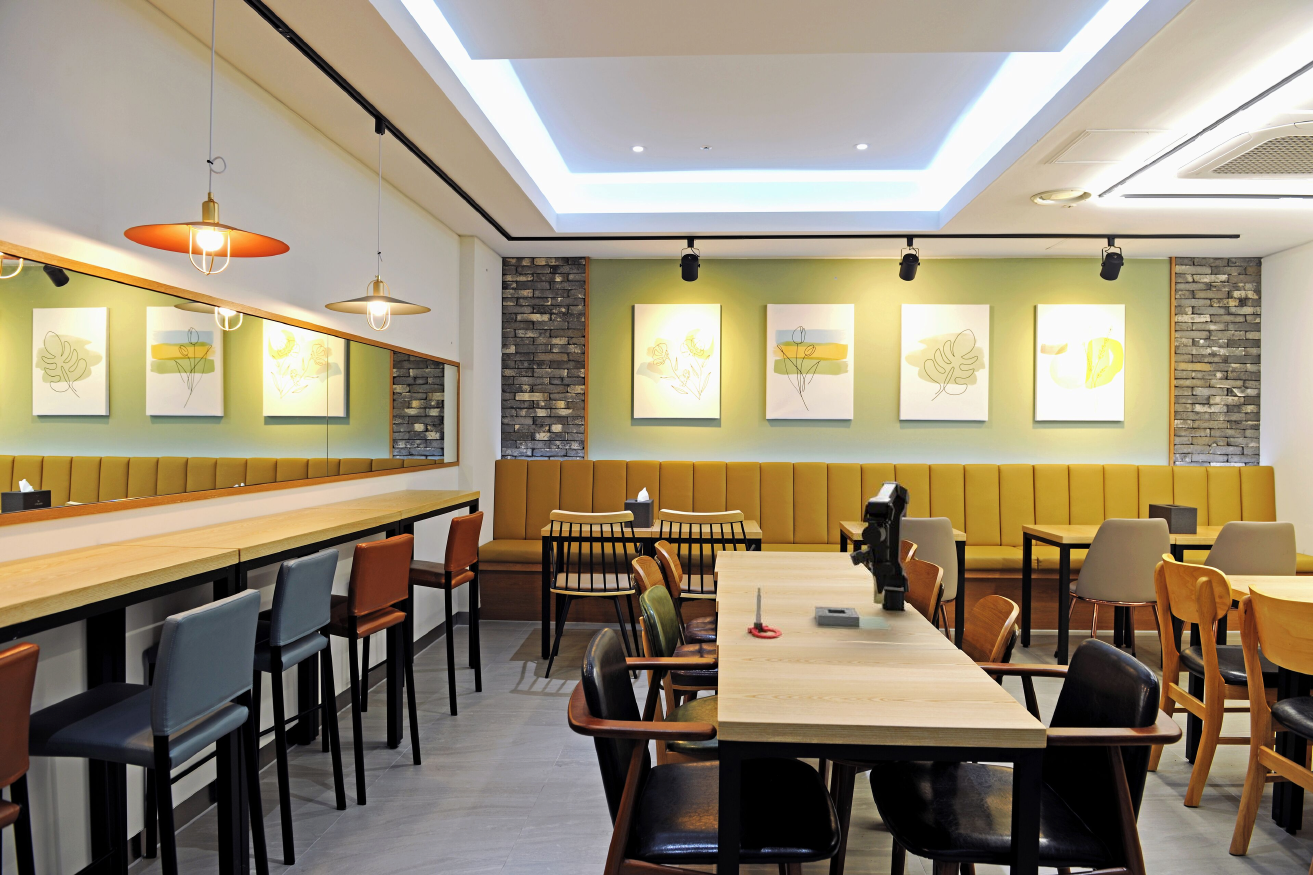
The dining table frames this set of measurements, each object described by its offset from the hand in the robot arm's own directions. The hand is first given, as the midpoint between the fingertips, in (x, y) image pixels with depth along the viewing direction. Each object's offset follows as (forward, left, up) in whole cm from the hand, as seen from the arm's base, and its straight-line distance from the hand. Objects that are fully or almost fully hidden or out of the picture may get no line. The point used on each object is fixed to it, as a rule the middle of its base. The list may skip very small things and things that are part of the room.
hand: (878, 592), depth 222 cm
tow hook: (+34, +17, -10) cm, 39 cm away
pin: (0, 0, -3) cm, 3 cm away
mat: (+8, 0, -10) cm, 12 cm away
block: (+12, 0, -9) cm, 15 cm away
